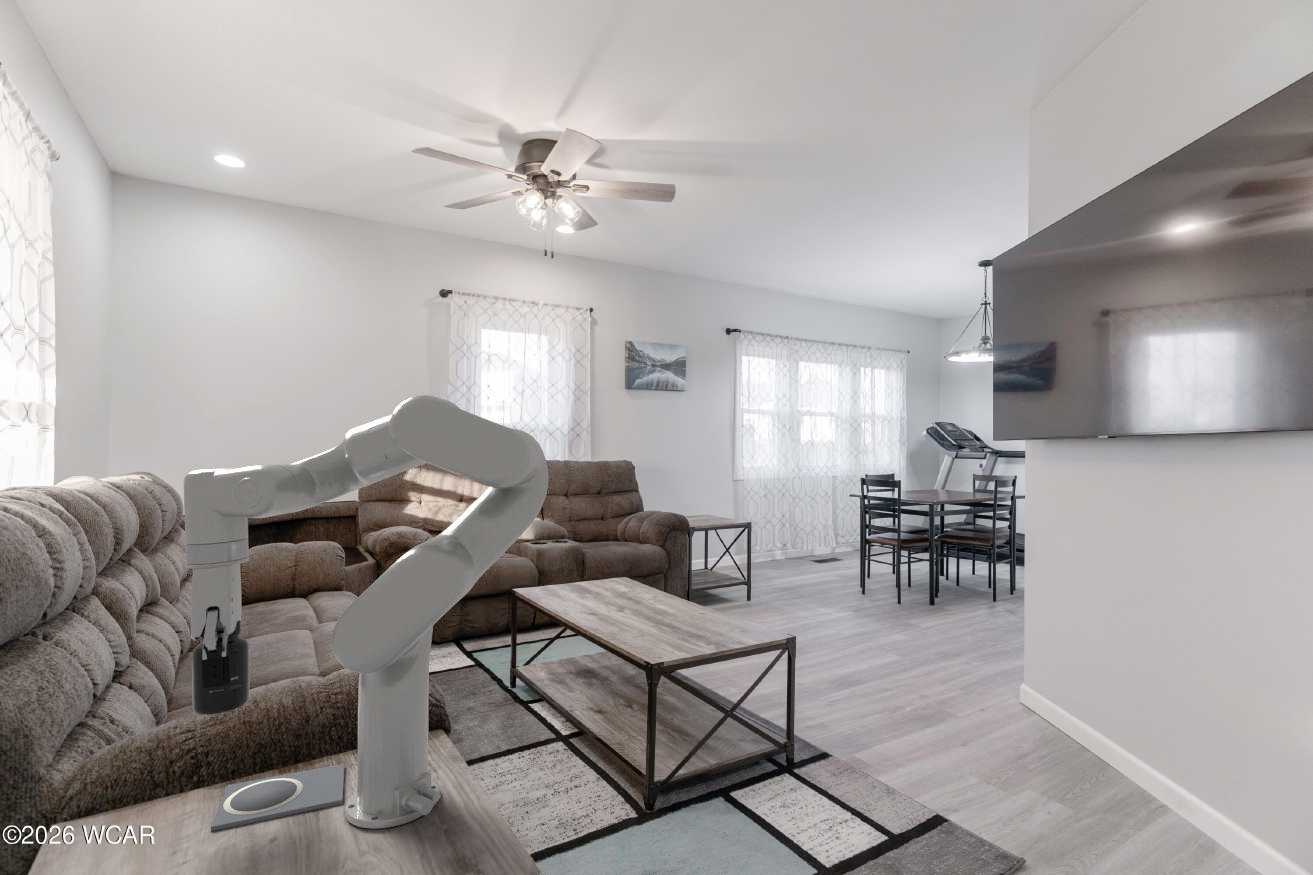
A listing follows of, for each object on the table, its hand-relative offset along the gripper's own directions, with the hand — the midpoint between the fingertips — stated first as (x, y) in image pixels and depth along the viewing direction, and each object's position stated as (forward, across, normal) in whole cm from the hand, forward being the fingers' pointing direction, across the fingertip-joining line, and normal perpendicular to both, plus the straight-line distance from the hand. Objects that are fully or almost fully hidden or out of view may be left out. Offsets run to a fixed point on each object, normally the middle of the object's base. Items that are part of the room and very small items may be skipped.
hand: (221, 676), depth 92 cm
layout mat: (+19, 0, +7) cm, 20 cm away
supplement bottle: (+4, 0, 0) cm, 4 cm away
